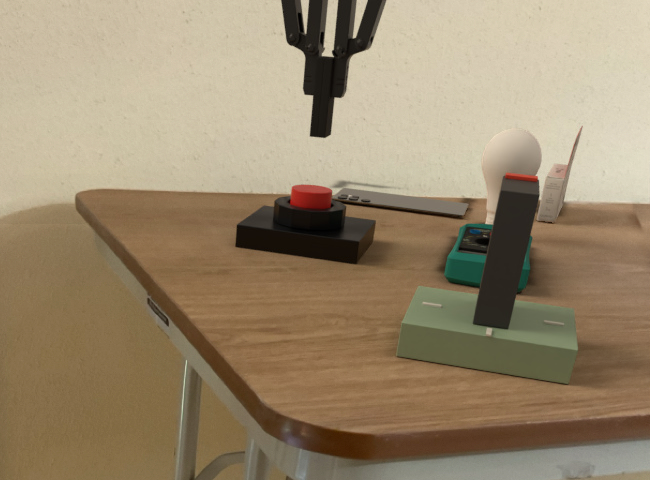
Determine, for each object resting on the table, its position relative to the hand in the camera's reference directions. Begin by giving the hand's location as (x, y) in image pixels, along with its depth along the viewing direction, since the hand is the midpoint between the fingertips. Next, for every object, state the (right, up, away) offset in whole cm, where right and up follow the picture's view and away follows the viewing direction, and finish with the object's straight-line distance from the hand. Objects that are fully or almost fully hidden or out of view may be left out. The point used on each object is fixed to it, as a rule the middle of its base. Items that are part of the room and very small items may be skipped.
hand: (320, 135), depth 83 cm
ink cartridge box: (+31, +2, +27) cm, 41 cm away
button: (-1, -5, +4) cm, 7 cm away
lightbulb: (+20, -5, +14) cm, 25 cm away
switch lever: (+11, -22, -19) cm, 31 cm away
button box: (-1, -8, +6) cm, 10 cm away
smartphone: (+12, +3, +26) cm, 28 cm away
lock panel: (+11, -24, -17) cm, 31 cm away
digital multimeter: (+16, -12, +2) cm, 21 cm away
